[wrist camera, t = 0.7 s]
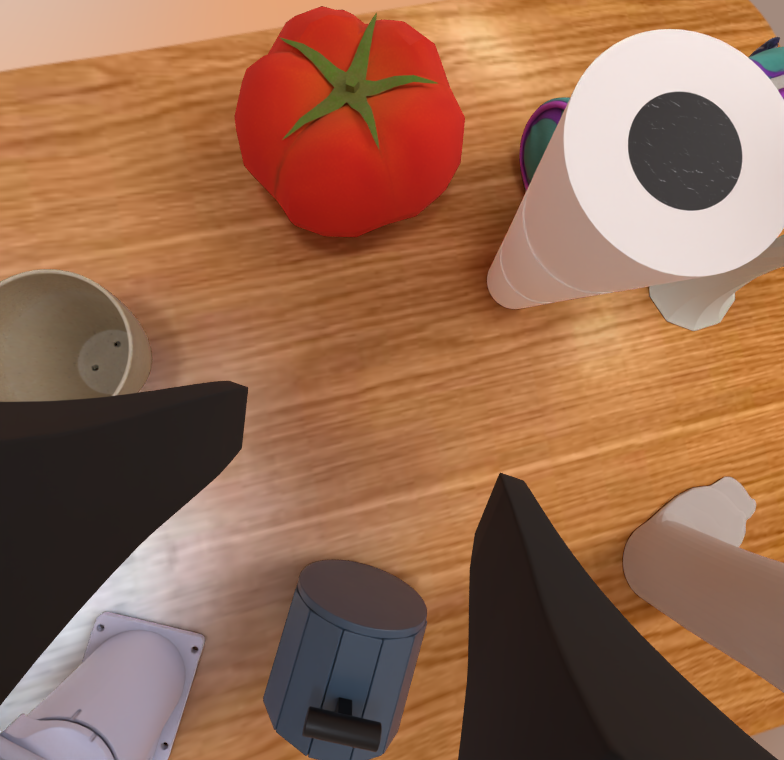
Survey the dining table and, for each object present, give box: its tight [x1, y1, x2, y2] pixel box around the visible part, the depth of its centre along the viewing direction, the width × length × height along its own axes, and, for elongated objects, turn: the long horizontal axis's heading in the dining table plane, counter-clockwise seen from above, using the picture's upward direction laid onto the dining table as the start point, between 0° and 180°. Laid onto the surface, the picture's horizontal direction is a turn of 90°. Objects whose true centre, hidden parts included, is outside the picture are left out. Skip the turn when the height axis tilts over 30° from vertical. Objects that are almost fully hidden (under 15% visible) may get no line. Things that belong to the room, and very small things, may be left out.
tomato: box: [235, 6, 465, 237], centre depth 29 cm, size 14×16×10 cm
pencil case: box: [520, 37, 784, 191], centre depth 31 cm, size 21×9×10 cm, turn 108°
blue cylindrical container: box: [263, 560, 427, 760], centre depth 26 cm, size 11×9×8 cm
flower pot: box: [0, 269, 152, 402], centre depth 27 cm, size 10×10×7 cm
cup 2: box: [487, 29, 784, 309], centre depth 25 cm, size 11×11×18 cm
